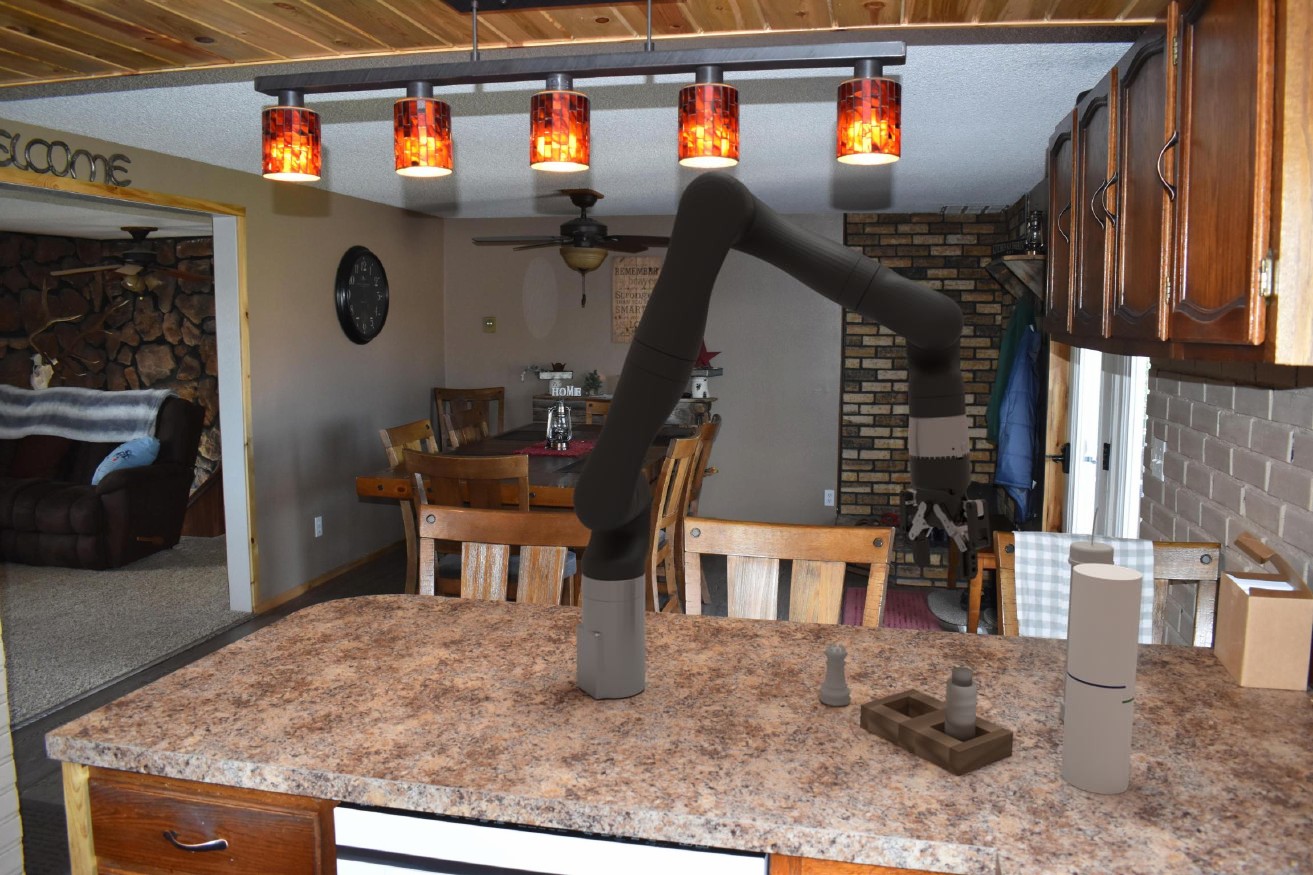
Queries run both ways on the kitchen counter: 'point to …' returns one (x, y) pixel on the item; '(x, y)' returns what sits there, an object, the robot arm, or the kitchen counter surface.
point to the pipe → (1078, 555)
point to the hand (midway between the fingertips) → (944, 572)
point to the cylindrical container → (1101, 677)
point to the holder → (940, 726)
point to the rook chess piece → (835, 678)
